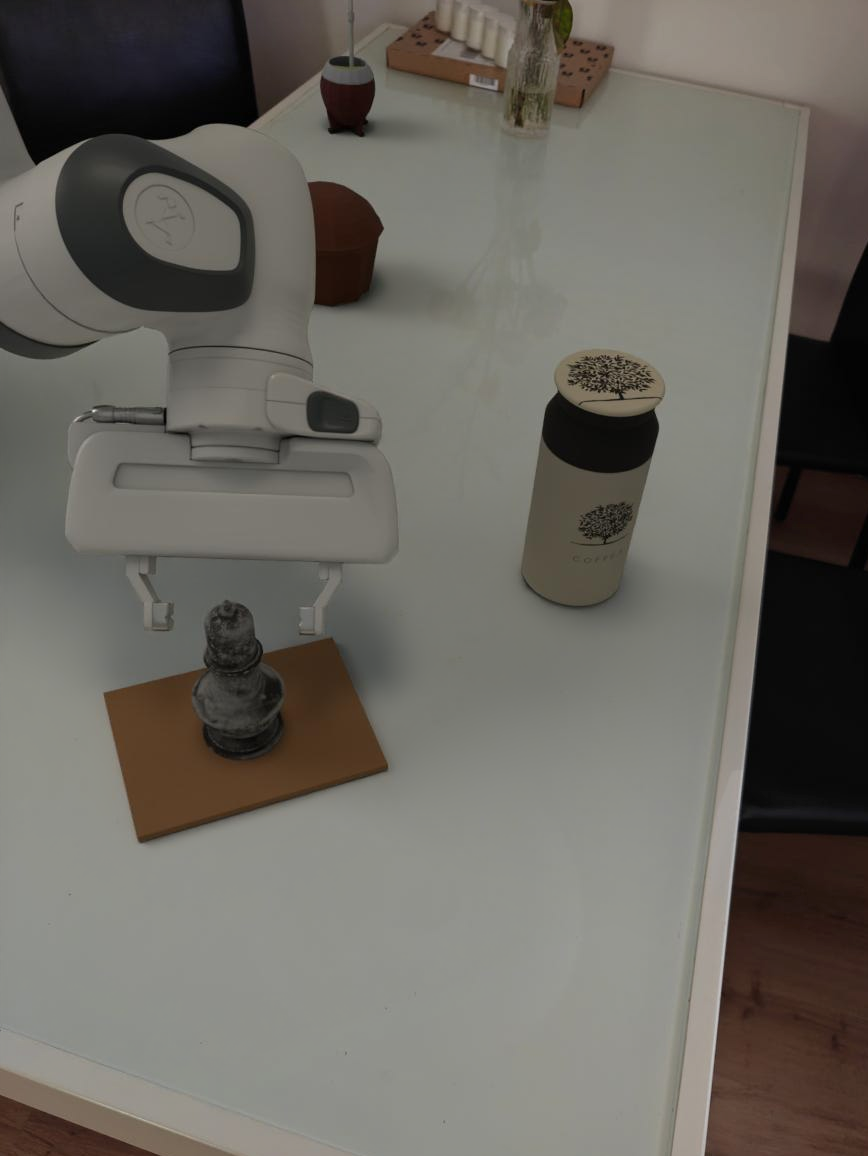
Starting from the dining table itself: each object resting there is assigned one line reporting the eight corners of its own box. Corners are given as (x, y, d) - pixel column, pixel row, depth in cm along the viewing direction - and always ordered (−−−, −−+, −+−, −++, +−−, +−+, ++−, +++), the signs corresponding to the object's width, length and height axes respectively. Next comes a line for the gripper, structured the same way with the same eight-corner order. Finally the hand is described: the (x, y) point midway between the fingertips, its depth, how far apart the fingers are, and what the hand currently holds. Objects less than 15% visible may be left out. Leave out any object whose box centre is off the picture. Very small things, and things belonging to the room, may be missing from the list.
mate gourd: (343, 143, 133) (341, 13, 122) (307, 121, 137) (302, -6, 126) (388, 131, 137) (390, 4, 126) (351, 110, 141) (350, -15, 130)
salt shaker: (181, 719, 68) (154, 591, 59) (258, 680, 71) (243, 551, 62) (227, 779, 65) (206, 653, 56) (305, 735, 68) (297, 608, 59)
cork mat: (138, 843, 62) (137, 837, 62) (104, 698, 69) (103, 692, 69) (388, 769, 67) (388, 764, 67) (332, 641, 75) (332, 636, 74)
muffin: (401, 278, 111) (404, 185, 104) (350, 323, 104) (349, 228, 96) (306, 248, 114) (302, 155, 106) (250, 290, 106) (242, 195, 99)
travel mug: (516, 538, 84) (544, 343, 71) (611, 540, 85) (657, 347, 71) (525, 608, 78) (558, 411, 65) (627, 609, 79) (680, 415, 66)
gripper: (51, 393, 60) (48, 630, 60) (403, 410, 62) (396, 639, 62) (83, 412, 66) (79, 626, 67) (401, 427, 68) (395, 635, 69)
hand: (235, 633), depth 64 cm, fingers open, 8 cm apart
